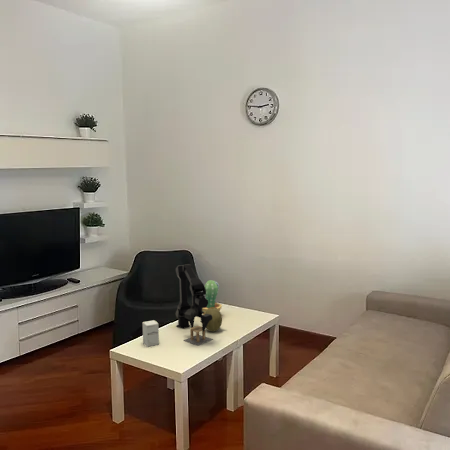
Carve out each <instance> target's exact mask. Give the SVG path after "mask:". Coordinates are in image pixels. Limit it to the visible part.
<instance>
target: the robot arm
mask: <svg viewBox="0 0 450 450" xmlns="http://www.w3.org/2000/svg"><path fill="white" fill-rule="evenodd" d="M175 273H176V276H177V278H178V281H179V303H178V304H177V309H176V310H175V317H176V319H177V321H178V322H177V323H178V324H177V325H176V327H177V328H181V329H185V328H188V327H190V328H192V327H195V326H194V325H195V318H196V317H197V318H200V322H201V325H202V326H201V327H202V330H203V331H205V332H206V326H207V324H208V322H209V321H211V320H212V315H210V314H204V315H203V313H204V312H203V311H202V308H205V307H207V305H208V300H207V299H206V289H205V283H203V282H202V280H201V279H199V278H198V277H197V275H196V274H195V272H194V270H193V268H192V264H190V263H187V264H181V265H177V266H176V267H175ZM188 281H189V291H190V293H191V296H192V297H191V303H192V304H191V305H190V303H189V301H188Z"/></svg>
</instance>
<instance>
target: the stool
mask: <svg viewBox="0 0 450 450" xmlns="http://www.w3.org/2000/svg"><path fill="white" fill-rule="evenodd" d="M189 330H190V331H189V332H190V337H191V340H194V336H195V335H196V342H199V335H200V333H201V336H202V340H205V337H206V330H205V331H203V330H202V326H199V325H196V326H193V327H192V328H191V327H190V328H189ZM194 333H196V334H195V335H194Z"/></svg>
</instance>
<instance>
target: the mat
mask: <svg viewBox="0 0 450 450" xmlns="http://www.w3.org/2000/svg"><path fill="white" fill-rule="evenodd" d="M193 336H194V340H191V336H189V337H187V338H184V339H183V342H186V343H190V344H192V345H195V346H197V347H198V346H200V345H203V344H205V343H208V342H211V341H212V340H214V339H213V338H210V337H207V336H205V340H202V334H199V342H196V334H195V335H193Z"/></svg>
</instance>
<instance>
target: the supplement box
mask: <svg viewBox="0 0 450 450" xmlns="http://www.w3.org/2000/svg"><path fill="white" fill-rule="evenodd" d="M159 330H160V329H159V323H158V322H157V321H156V320H154V319H153V320H148V321H143V322H142V342H143V344H144V345H145V346H146V347H147V348H148V347H152V346H153V347H154V346H157V345H158V346H159V344H160V335H159Z"/></svg>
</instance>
